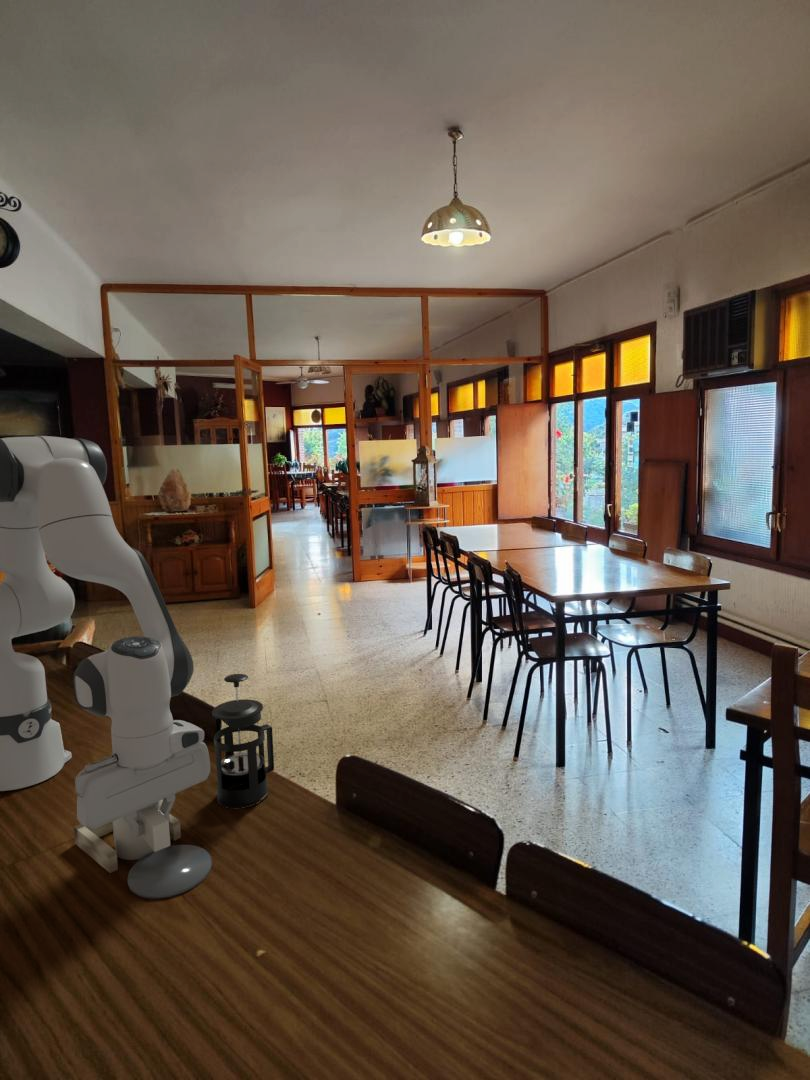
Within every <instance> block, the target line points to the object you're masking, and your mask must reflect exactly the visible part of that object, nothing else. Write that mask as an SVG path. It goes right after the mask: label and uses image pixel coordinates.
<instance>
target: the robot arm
mask: <svg viewBox="0 0 810 1080" xmlns="http://www.w3.org/2000/svg"><path fill="white" fill-rule="evenodd" d="M107 474H108V463H107V459H106V456H105V453H104V452H103V451H102V449H101V448H100V446H99V445H98V444H97V443H95V442H94V441H91V440H88V439H85V438H80V437H79V438H78V437H72V438H67V437H61V436H50V435H49V436H48V435H33V436H12V437H11V436H10V437H3V438H1V437H0V572H2V573H4V578H3V581H0V792H5V791H14V790H19V789H24V788H27V787H31V786H35V785H38V784H39V783H42V782H44V781H46V780H48V779H50V778H52V777H53V776H55V775H57V774H58V773H59V772H60V771H61V770H62V768H63V767H64V765H65V763H67V762H68V761H70V760H71V759H72V758H73V755H72V752H71V751H70V750H66V749H65V748H64V747H65V746H64V742H63V736H62V730H61V725H60V723H59V722H57V721H56V720H54V719H52V716H53V715H52V704H51V700H50V699H49V698H48V693H47V691H48V690H47V683H46V672H45V667H44V665H43V663H42V662H41V661H40V660H39V659H38V658H37V657H35V656H33V655H30V654H27V653H22V652H15V650H14V648H13V644H12V639H14V638H18V637H21V636H25V635H26V636H27V635H30V634H35V633H38V632H42V631H47V630H49V629H51V628H54V627H57V626H58V625H61V624H63V623H64V622H66V621H68V620H70V618H71V616H72V614H73V612H74V610H75V605H76V598H75V594H74V590H73V589H72V587H71V586H70V584H69V583H68V582H67V581H66V580H64V579H63V578H62V577H60V576H58V575H56V574H55V573H54V572H53V570H51V568H50V567H49V564H48V563H50V565H51V566H52V567H54V568H55V569H56V570H57V571H59V572H61V573H62V574H64V575H66V576H68V577H71V578H74V579H76V580H80V581H85V582H91V583H96V584H100V585H105V586H108V587H111V588H114V589H117V591H120V592H121V593H123V594H124V595H125V596H126V598H127V599H128V600H129V602H130V605H131V606H132V609H133V611H134V613H135V617H136V618H137V619H136V620H137V621H138V623H139V625H140V628H141V630H142V633H143V635H144V636H142V635H140V636H139V635H134V636H126V637H123V638H119V639H118V640H116V641H114V642H112V643H111V644H110V645H109V647H108V649H107V650H105V651H102V652H100V653H95V654H92V655H90V656H88V657H84V658H83V659H82V660H81V661H80V663H79V664H78V666H77V668H76V669H75V671H74V674H73V677H72V688H73V694H74V699H75V702H76V705H77V706H78V707H79V708H81V709H82V710H83V711H85V712H87V713H90V714H92V715H95V716H98V717H101V718H103V717H105V716H107V717H109V718H110V719H111V728H110V732H111V733H110V737H111V746H112V755H109V756H107V757H105V758H103V759H100V760H98V761H95V762H91V763H88V764H85V766H84V768H83V769H82V770H81V771H79V772H78V774H77V775H76V776H75V780H74V784H75V786H74V787H75V793H76V794H77V798H76V818H77V820H78V822H79V823H80V824H82V825H83V826H85V827H86V828H88V829H90V830H94V829H97V828H99V827H101V826H104V825H106V824H108V823H110V822H113V821H115V820H117V819H119V818H122V817H123V818H124V819H125V820H126V821H127V822H128V823H129V824H130V832H131V835H132V836H134V837H135V838H136V837H138V836H140V835H142V834H144V833H145V830H144V828H145V826H144V823H143V822H141V821H140V820H137V821H135V820H134V819H133V818H135V817H136V816H137V813H136V811H137V810H140V809H142V808H144V807H146V806H149V805H151V804H153V803H155V802H158V801H160V800H162V799H163V801H162V804H161V807H160V810H159V811H160V812H161V813H162V814H163V816H164V817H165V818H166V819H167V820H168V821H170V815H171V814H170V813H171V810H172V808H173V805H174V803H175V801H176V794H177V793H180V792H182V791H184V790H186V789H189V788H192V787H194V786H195V785H198V784H200V783H202V782H204V781H207V779H208V777H209V776H210V773H211V760H210V754H209V749H208V746H207V745H206V743H205V742H204V739H205V731H204V729H202V728H201V727H199V726H197V725H195V724H193V723H191V722H187V721H185V720H183V719H182V720H181V719H174V718H173V714H172V712H171V709H170V702H171V698H173V697H177V696H179V695H181V694H182V693H183V692H184V691H185V689H186V688H187V686H188V685H189V683H190V681H191V679H192V676H193V674H194V669H195V667H194V660H193V657H192V654H191V652H190V650H189V648H188V646H187V644H186V643H185V642H184V641H183V639H182V636H180V634H179V631H178V630H177V628H176V625H175V624H174V620H173V618H172V616H171V614H170V612H169V610H168V607H167V604H166V602H165V600H164V597H163V595H162V593H161V591H160V588H159V585H158V583H157V581H156V579H155V577H154V574H153V573H152V570H151V568H150V566H149V564H148V562H147V561H146V559H145V557H144V555H143V553H141V552H140V551H139V550H138V549H135V548H134V547H131V546H130V545H129V544H128V543H127V541H125V540H124V538H123V537H122V535H121V534H120V533H119V531H118V529H117V527H116V524H115V522H114V518H113V514H112V510H111V506H110V504H109V503H110V502H109V500H108V497H107V494H106V492H105V489H104V484H105V482H106V480H107ZM169 814H170V815H169Z"/></svg>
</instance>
